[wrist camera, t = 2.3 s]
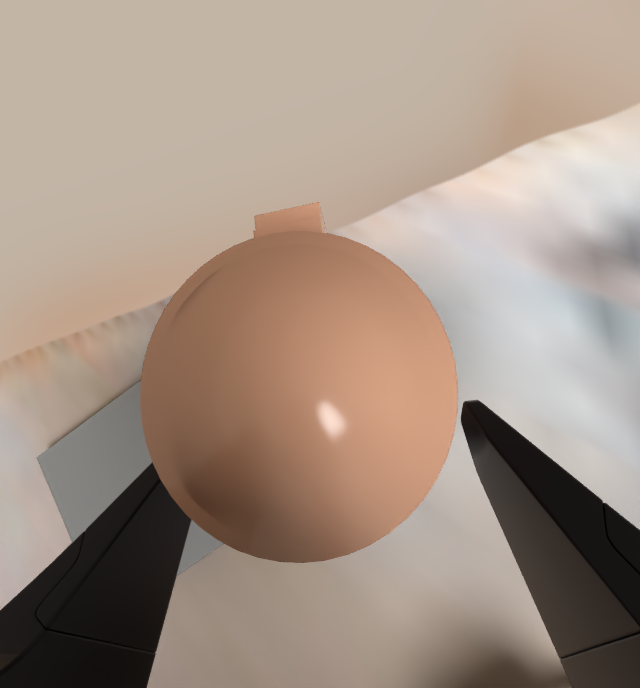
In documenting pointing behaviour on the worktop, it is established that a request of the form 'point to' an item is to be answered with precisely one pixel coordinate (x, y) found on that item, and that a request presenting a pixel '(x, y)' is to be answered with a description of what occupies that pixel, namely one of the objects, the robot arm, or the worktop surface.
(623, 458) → the worktop surface
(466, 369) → the worktop surface
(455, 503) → the worktop surface
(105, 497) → the mat
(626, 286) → the worktop surface
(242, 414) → the peach rounded cylinder
